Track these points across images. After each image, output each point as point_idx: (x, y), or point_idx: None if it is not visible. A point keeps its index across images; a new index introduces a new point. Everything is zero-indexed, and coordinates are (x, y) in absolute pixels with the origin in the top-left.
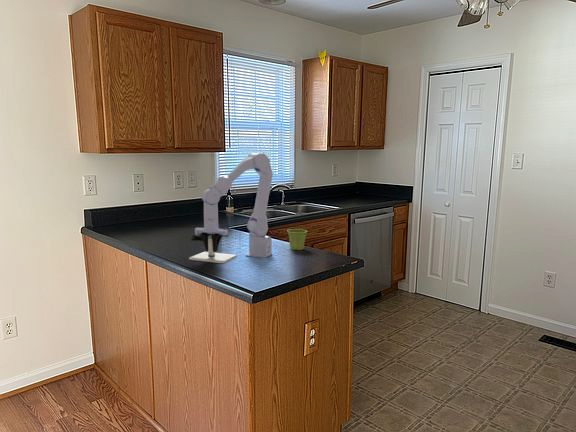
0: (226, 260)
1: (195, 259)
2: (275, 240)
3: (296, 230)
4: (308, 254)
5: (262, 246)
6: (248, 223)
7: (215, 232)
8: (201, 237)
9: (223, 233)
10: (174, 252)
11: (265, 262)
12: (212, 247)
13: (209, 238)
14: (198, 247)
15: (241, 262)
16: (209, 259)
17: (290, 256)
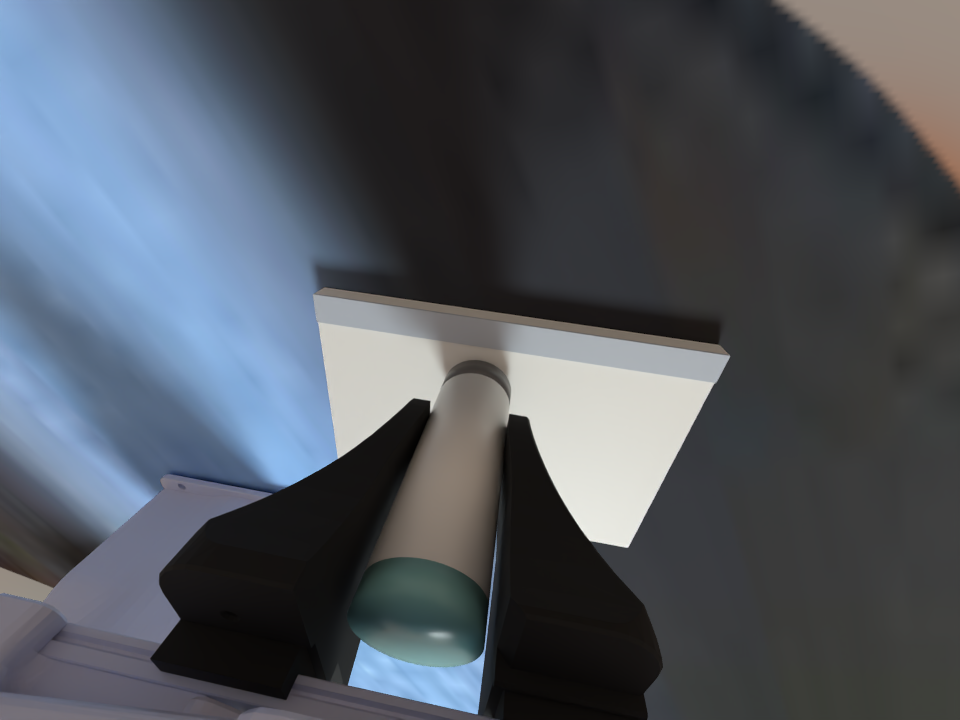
0: (325, 351)
1: (640, 336)
2: None
3: None
4: (65, 551)
5: (121, 556)
6: None
7: (120, 708)
8: (608, 584)
9: (50, 669)
10: (923, 539)
11: (85, 385)
12: (425, 436)
13: (426, 559)
14: (715, 640)
15: (217, 352)
16: (472, 325)
17: (95, 516)
